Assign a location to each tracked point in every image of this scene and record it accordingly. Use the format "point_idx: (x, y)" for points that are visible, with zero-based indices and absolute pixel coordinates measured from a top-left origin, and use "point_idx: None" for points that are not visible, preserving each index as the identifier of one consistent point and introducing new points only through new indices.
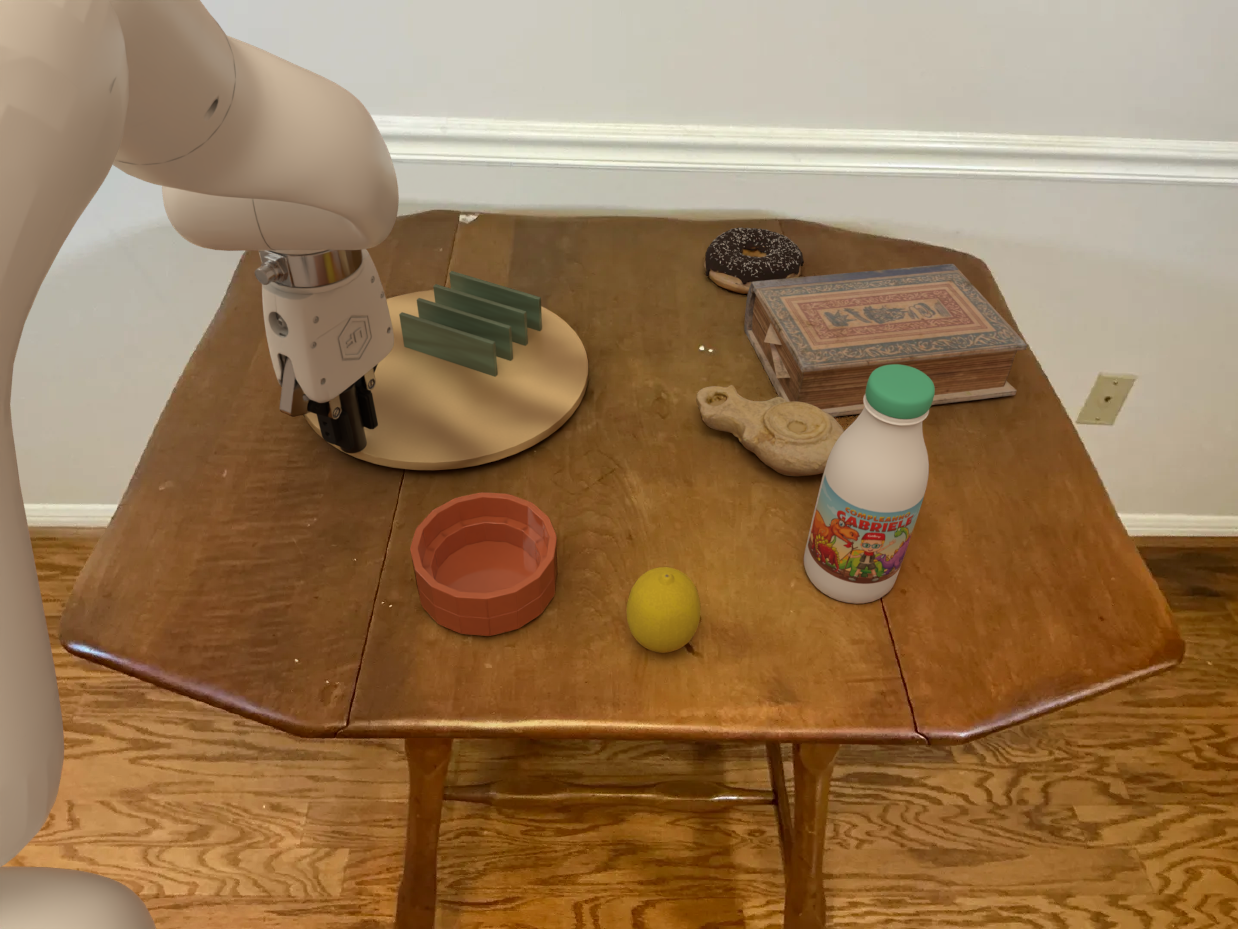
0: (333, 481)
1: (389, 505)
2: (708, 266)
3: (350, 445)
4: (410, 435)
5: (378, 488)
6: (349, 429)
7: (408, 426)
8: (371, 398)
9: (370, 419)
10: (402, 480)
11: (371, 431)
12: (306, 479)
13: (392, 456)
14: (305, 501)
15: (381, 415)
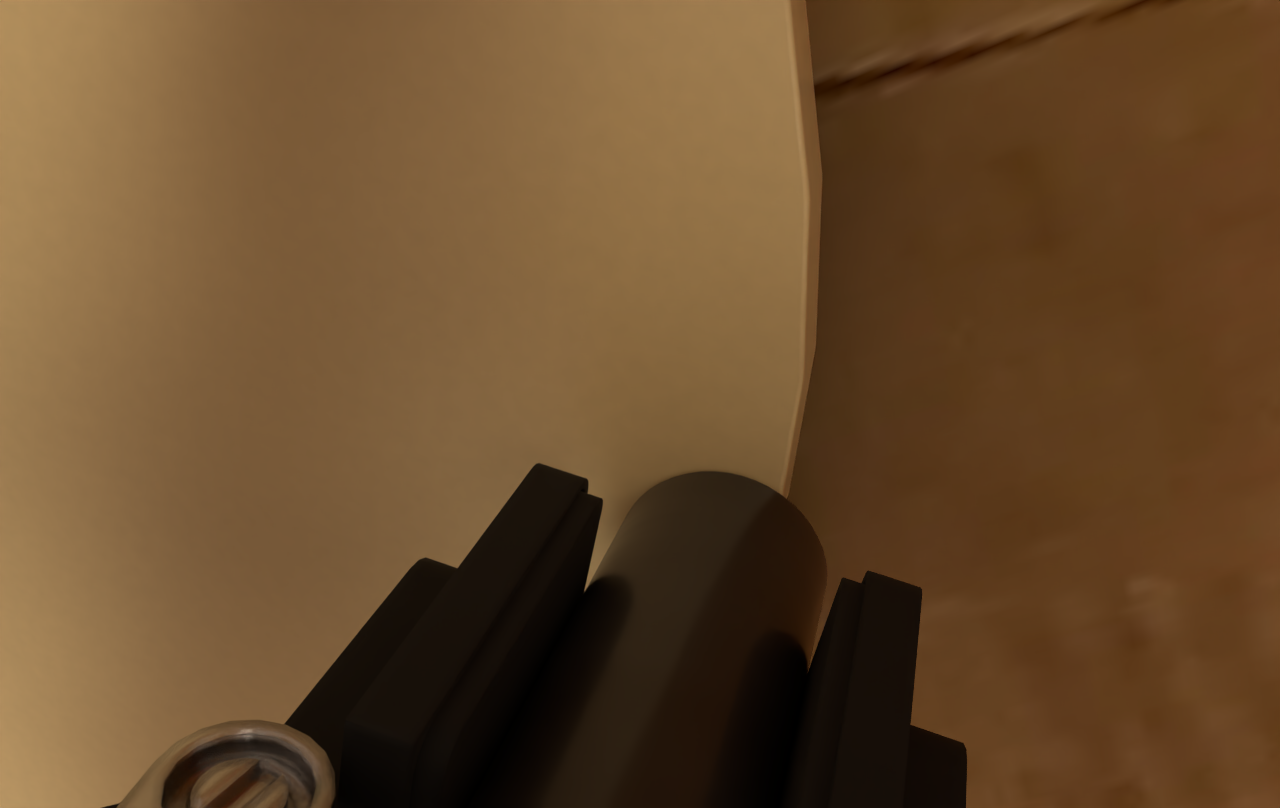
0: (983, 557)
1: (1192, 57)
2: None
3: (909, 607)
4: (466, 167)
5: (994, 229)
6: (866, 722)
7: (374, 230)
8: (403, 678)
9: (563, 554)
10: (859, 77)
11: None
12: (999, 714)
13: (764, 217)
14: (1226, 665)
15: (351, 472)
